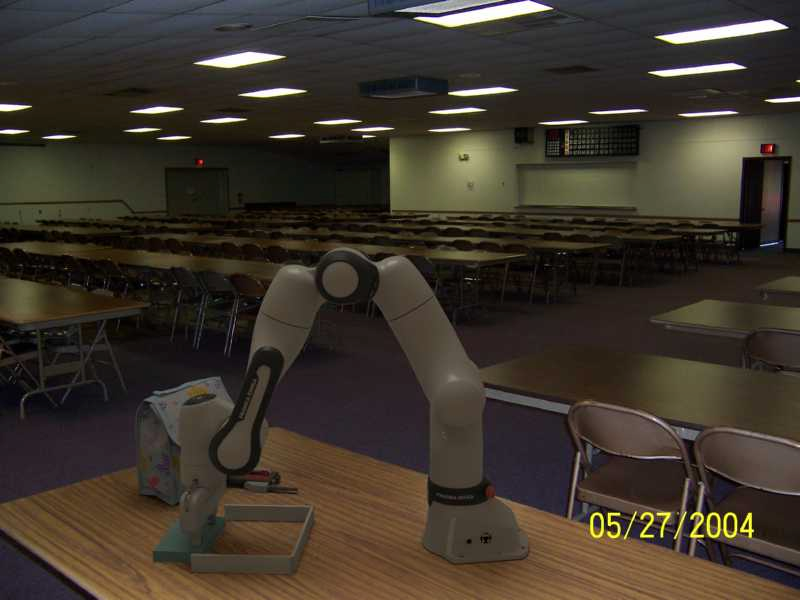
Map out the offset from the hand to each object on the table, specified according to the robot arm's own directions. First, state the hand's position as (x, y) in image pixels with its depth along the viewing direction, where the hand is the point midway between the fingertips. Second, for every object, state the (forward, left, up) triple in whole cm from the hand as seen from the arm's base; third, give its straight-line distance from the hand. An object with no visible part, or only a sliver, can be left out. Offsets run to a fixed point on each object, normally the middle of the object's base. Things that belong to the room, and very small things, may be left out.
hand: (204, 533), depth 152 cm
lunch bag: (+13, -29, -2) cm, 32 cm away
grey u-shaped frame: (-11, 0, -2) cm, 11 cm away
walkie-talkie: (-5, -31, -3) cm, 31 cm away
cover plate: (+3, 0, -3) cm, 4 cm away
